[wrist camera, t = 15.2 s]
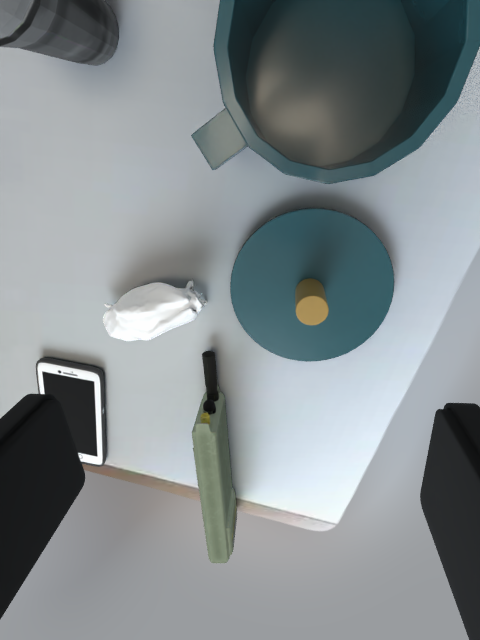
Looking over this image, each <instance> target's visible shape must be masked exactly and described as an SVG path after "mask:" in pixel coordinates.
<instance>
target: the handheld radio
mask: <svg viewBox="0 0 480 640" xmlns="http://www.w3.org/2000/svg"><path fill="white" fill-rule="evenodd" d="M202 357H203V366H204V375H205V385H206V387H207V392H206V393H205V394H204V396H203V399H202V401H201V405H200V408H199V411H198V414H197V418H196V421H195V424H194V427H193V431H192V438H193V446H194V448H193V450H194V458H195V465H196V472H197V480H198V486H199V493H200V500H201V507H202V514H203V521H204V528H205V535H206V542H207V550H208V556H209V559H210V561H211V562H212V563H226V562H227V561H228V559H229V556H230V555H231V554H232V552H233V547H234V537H235V529H236V520H237V508H236V496H235V491H234V489H233V488H232V478H231V466H230V454H229V442H228V430H227V418H226V407H225V397H224V395H223V393H221V392H220V389H219V385H218V383H217V372H216V361H215V353H214V352H213V351H206V352H204V353H203V354H202Z"/></svg>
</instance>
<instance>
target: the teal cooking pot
mask: <svg viewBox="0 0 480 640" xmlns="http://www.w3.org/2000/svg"><path fill="white" fill-rule="evenodd" d="M479 47H480V0H220V4H219V11H218V18H217V25H216V32H215V39H214V55H215V60H216V66H217V71H218V77H219V83H220V88H221V94H222V100H223V103H224V106H225V107H226V108H225V109H224V110H223V111H221V112H220V113H219V114H217V115H216V116H215V117H214V118H212V119H211V120H210V121H209V122H207V123H206V124H205V125H203V126H202V127H201V128H200V129H198V130H197V131H196V132H195V133H193V134H192V135H191V136H192V138H193V139H194V141H195V143H196V144H197V146H198V147H199V149H200V151H201V152H202V154H203V155H204V157H205V159H206V160H207V162H208V163H209V165H210V167H211V168H212V170H216V169H217V168H219V167H220V166H221V165H223V164H224V163H226V162H227V161H228V160H230V159H231V158H232V157H234V156H235V155H237V154H238V153H239V152H241V151H242V150H243V149H245V148H246V147H248V146H249V148H251V149H252V150H253V151H255V152H256V153H257V154H259V155H260V156H261V157H263V158H264V159H265V160H267V161H268V162H269V163H270V164H272V165H273V166H274V167H276V168H277V169H278V170H280V171H281V172H282V173H284V174H286V175H290V176H295V177H299V178H303V179H308V180H312V181H316V182H321V183H325V184H332V183H337V182H342V181H348V180H353V179H359V178H364V177H369V176H374V175H376V174H378V173H379V172H381V171H383V170H384V169H386V168H387V167H389V166H391V165H392V164H394V163H396V162H397V161H399V160H401V159H402V158H404V157H405V156H407V155H409V154H410V153H412V152H414V151H415V150H417V149H418V148H419V147H421V145H422V144H423V143H424V142H425V141H426V139H427V138H428V137H429V136H430V134H431V133H432V132H433V131H434V130H435V128H436V127H437V126H438V125H439V124H440V122H441V121H442V120H443V119H444V118H445V116H446V115H447V114H448V113H449V112H450V110H451V109H452V108H453V107H454V106H455V104H456V103H457V101H458V99H459V97H460V94H461V92H462V89H463V87H464V84H465V82H466V79H467V77H468V74H469V72H470V69H471V67H472V64H473V62H474V59H475V57H476V54H477V52H478V49H479Z"/></svg>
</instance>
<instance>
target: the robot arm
mask: <svg viewBox="0 0 480 640" xmlns="http://www.w3.org/2000/svg"><path fill="white" fill-rule="evenodd" d="M84 482H85V473H84V469H83V466H82V463H81V461H80V458H79V455H78V452H77V449H76V446H75V443H74V440H73V437H72V434H71V431H70V428H69V425H68V423H67V420H66V417H65V414H64V411H63V408H62V405H61V403H60V402H59V401H58V400H56V398H55V397H54V396H53V395H51V394H28V395H26V396H25V397H24V398H22V399H21V400H20V401H19V402H18V403H17V404H16V405H15V406H14V407H13V408H12V409H10V410H9V411H8V412H7V413H6V414H5V415H4V416H3V417H2V418H1V419H0V619H1V617H2V616H3V614H4V613H5V611H6V609H7V608H8V606H9V604H10V603H11V601H12V600H13V598H14V597H15V595H16V593H17V592H18V590H19V588H20V587H21V585H22V584H23V582H24V581H25V579H26V577H27V576H28V574H29V572H30V571H31V569H32V568H33V566H34V565H35V563H36V561H37V560H38V558H39V556H40V555H41V553H42V552H43V550H44V548H45V547H46V545H47V544H48V542H49V540H50V539H51V537H52V536H53V534H54V532H55V531H56V529H57V528H58V526H59V524H60V523H61V521H62V520H63V518H64V516H65V515H66V513H67V512H68V510H69V508H70V507H71V505H72V503H73V502H74V500H75V499H76V497H77V496H78V494H79V492H80V490H81V489H82V487H83V485H84ZM420 498H421V505H422V509H423V512H424V515H425V518H426V520H427V523H428V526H429V529H430V532H431V534H432V537H433V540H434V543H435V545H436V548H437V551H438V554H439V556H440V559H441V562H442V565H443V568H444V571H445V573H446V576H447V579H448V582H449V585H450V587H451V590H452V593H453V596H454V598H455V601H456V604H457V607H458V610H459V612H460V615H461V618H462V621H463V623H464V626H465V629H466V632H467V635H468V637H469V640H480V407H479V406H478V405H476V404H471V403H470V404H469V403H447V404H446V405H445V406H444V409H438V410H437V411H436V414H435V419H434V424H433V430H432V434H431V440H430V445H429V450H428V456H427V461H426V466H425V471H424V477H423V482H422V487H421V494H420Z"/></svg>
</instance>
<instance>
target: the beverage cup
mask: <svg viewBox="0 0 480 640" xmlns="http://www.w3.org/2000/svg"><path fill="white" fill-rule="evenodd" d="M118 39H119V35H118V25H117V21H116V17H115V15H114V13H113V11H112V10H111V8H110V6H109V5H108V4H107V3H106V2H105V1H104V0H0V47H11V48H21V49H24V50H28V51H32V52H36V53H40V54H44V55H48V56H52V57H56V58H60V59H64V60H68V61H72V62H76V63H83V64H88V65H100V64H103V63H105V62H107V61H108V60H109V59H110V58H111V57H112V56H113V54H114V52H115V50H116V48H117V44H118Z"/></svg>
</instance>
